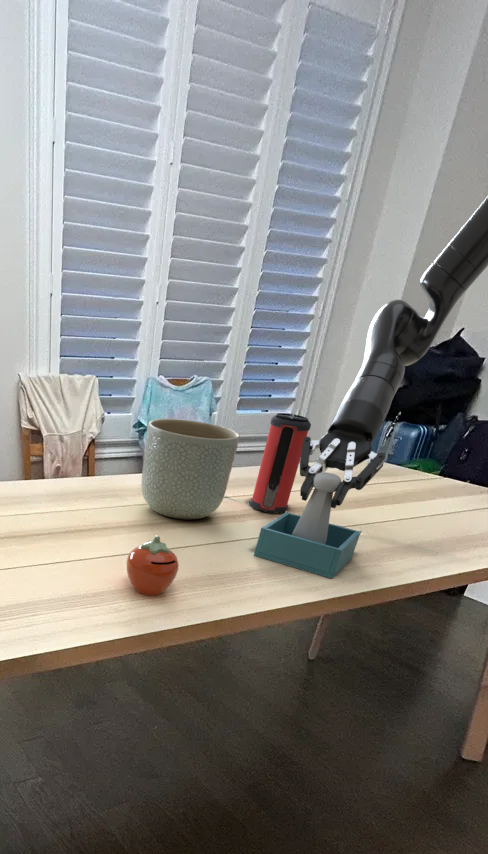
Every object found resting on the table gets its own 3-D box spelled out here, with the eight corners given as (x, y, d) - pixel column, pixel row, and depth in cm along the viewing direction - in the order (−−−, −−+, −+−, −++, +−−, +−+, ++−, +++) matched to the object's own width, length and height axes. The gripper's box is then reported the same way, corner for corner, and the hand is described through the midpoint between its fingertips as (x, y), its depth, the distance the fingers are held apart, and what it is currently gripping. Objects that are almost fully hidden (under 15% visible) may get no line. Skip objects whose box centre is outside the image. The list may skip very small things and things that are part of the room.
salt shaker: (282, 549, 110) (304, 471, 103) (297, 542, 114) (320, 467, 106) (312, 560, 107) (338, 481, 100) (327, 553, 111) (353, 476, 103)
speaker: (247, 509, 132) (270, 415, 121) (252, 500, 138) (274, 410, 128) (284, 517, 130) (311, 422, 120) (287, 507, 136) (313, 417, 126)
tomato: (137, 603, 87) (146, 546, 83) (114, 581, 93) (121, 527, 88) (183, 598, 90) (194, 544, 86) (157, 578, 95) (167, 525, 91)
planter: (162, 494, 135) (176, 415, 126) (234, 515, 127) (254, 433, 118) (119, 508, 123) (131, 423, 114) (196, 532, 115) (215, 443, 107)
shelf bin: (351, 558, 113) (361, 531, 110) (331, 578, 103) (341, 550, 100) (278, 537, 118) (286, 511, 116) (253, 555, 109) (261, 527, 106)
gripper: (320, 390, 105) (276, 477, 103) (409, 406, 99) (364, 499, 98) (318, 421, 112) (277, 503, 110) (401, 438, 106) (360, 525, 104)
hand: (318, 501), depth 104 cm, fingers closed on salt shaker, 4 cm apart
